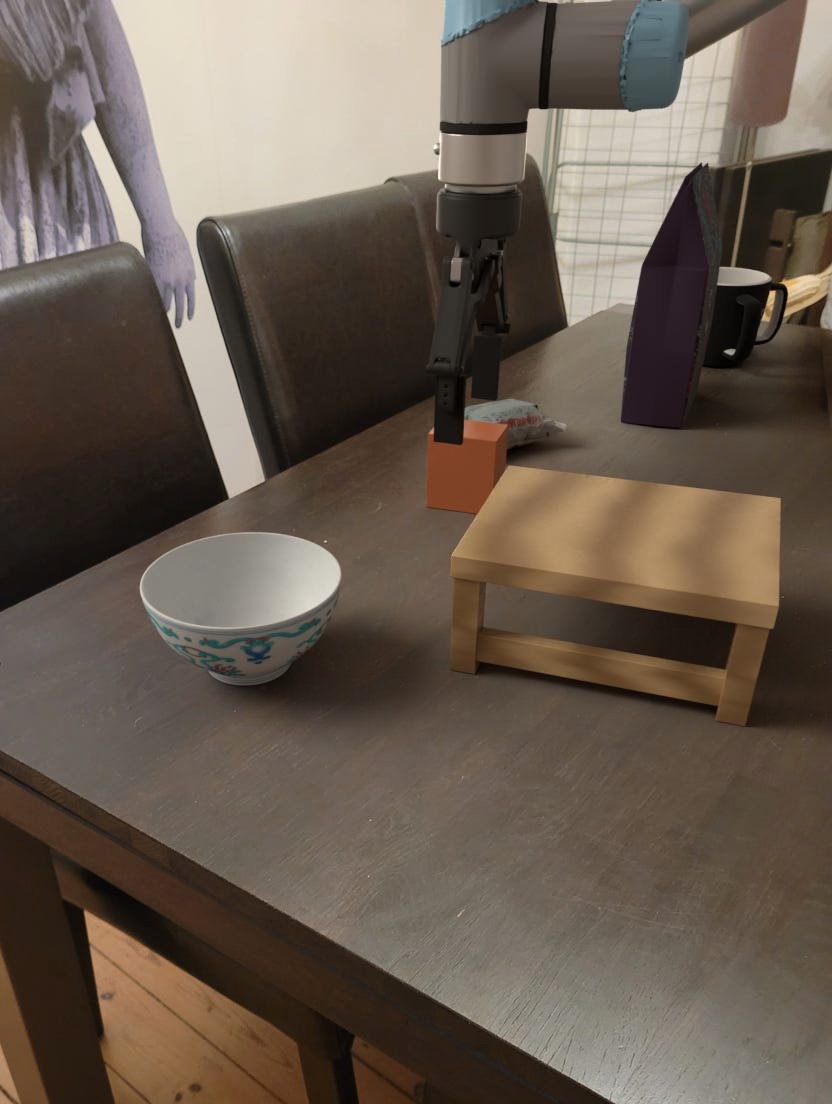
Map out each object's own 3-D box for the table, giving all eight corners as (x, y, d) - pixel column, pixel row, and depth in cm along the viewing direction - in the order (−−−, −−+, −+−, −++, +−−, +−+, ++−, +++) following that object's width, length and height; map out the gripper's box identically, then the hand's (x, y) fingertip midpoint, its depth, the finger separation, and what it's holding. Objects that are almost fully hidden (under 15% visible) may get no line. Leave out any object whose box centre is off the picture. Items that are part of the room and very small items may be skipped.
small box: (503, 497, 101) (508, 424, 97) (491, 516, 97) (496, 441, 93) (439, 488, 104) (442, 417, 99) (426, 507, 100) (427, 433, 95)
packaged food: (563, 448, 113) (567, 407, 110) (479, 467, 108) (481, 424, 106) (520, 427, 120) (523, 387, 117) (439, 444, 115) (440, 403, 113)
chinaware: (265, 595, 84) (259, 515, 80) (383, 663, 75) (383, 576, 71) (117, 660, 76) (101, 575, 72) (228, 746, 67) (218, 653, 62)
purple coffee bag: (615, 423, 120) (648, 176, 105) (638, 385, 132) (670, 160, 117) (683, 431, 117) (726, 179, 102) (700, 392, 129) (740, 162, 114)
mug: (739, 383, 132) (756, 293, 126) (634, 362, 142) (646, 277, 135) (787, 357, 142) (806, 272, 136) (687, 339, 152) (700, 259, 145)
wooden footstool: (755, 606, 81) (781, 497, 76) (748, 728, 67) (779, 605, 62) (501, 567, 88) (508, 465, 83) (446, 670, 74) (451, 555, 69)
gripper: (474, 168, 95) (464, 379, 107) (393, 205, 76) (391, 458, 87) (550, 171, 93) (530, 386, 104) (486, 209, 73) (471, 468, 85)
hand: (467, 419), depth 96 cm, fingers open, 13 cm apart
